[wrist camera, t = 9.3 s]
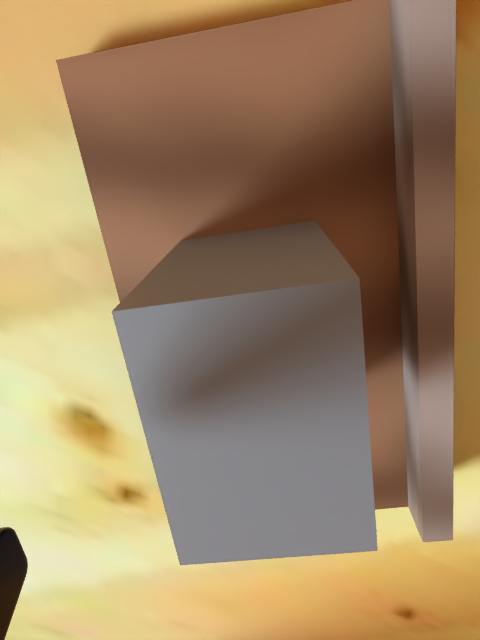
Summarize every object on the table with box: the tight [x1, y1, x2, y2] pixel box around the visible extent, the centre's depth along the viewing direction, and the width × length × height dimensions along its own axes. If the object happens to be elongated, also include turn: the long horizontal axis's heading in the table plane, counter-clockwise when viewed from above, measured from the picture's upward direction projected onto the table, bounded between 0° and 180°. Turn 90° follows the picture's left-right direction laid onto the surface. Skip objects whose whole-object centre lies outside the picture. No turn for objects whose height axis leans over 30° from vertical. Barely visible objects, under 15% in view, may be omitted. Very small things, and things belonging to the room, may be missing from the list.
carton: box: [112, 221, 377, 565], centre depth 14 cm, size 5×7×8 cm
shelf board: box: [56, 0, 456, 542], centre depth 17 cm, size 20×12×4 cm, turn 9°
